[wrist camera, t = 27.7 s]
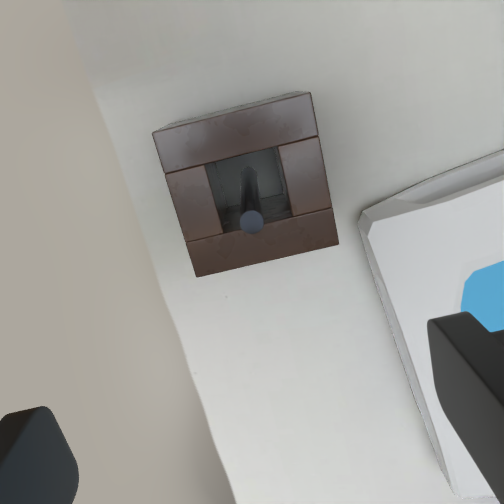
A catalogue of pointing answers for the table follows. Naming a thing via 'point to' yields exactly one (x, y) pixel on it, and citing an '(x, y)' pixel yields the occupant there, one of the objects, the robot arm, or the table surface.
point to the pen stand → (274, 208)
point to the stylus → (250, 202)
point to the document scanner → (440, 283)
